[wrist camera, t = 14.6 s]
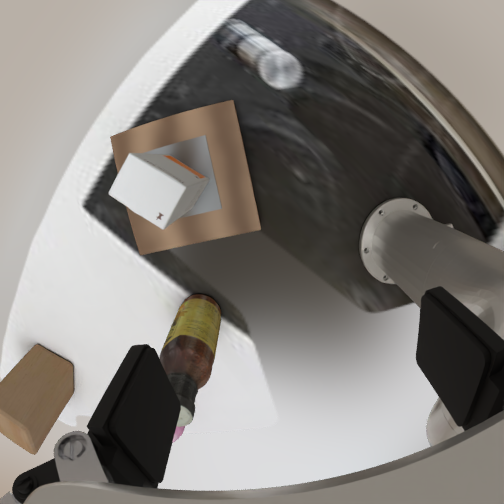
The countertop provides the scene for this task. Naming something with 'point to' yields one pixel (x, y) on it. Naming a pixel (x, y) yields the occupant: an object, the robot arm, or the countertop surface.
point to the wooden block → (34, 397)
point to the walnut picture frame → (204, 162)
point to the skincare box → (157, 187)
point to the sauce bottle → (191, 350)
